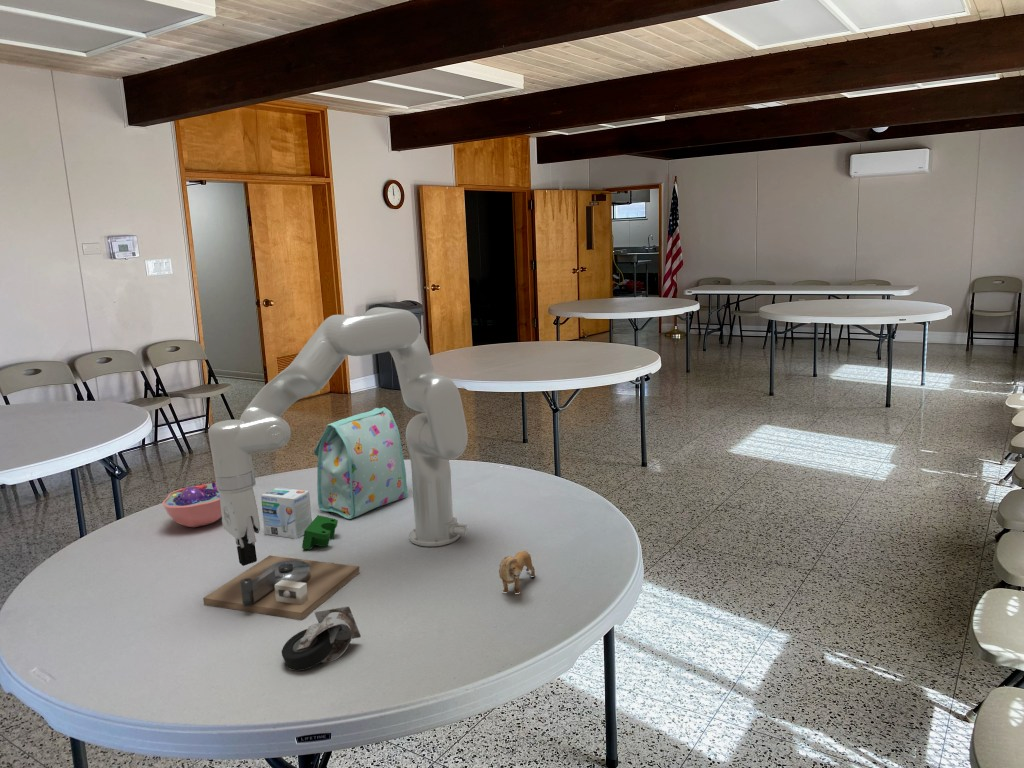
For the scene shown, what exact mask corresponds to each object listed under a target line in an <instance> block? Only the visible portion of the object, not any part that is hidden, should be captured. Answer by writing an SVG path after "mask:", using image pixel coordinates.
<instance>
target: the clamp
mask: <svg viewBox="0 0 1024 768" xmlns="http://www.w3.org/2000/svg"><path fill="white" fill-rule="evenodd" d="M338 522H339V521H338V519H336V518H333V517H332V518H331V517H327V516H324V515H319V514H317V515H316V516H315V517H314V519H313V520H312V523H311V524H310V525H309V526H308V527H307V528H306V530H305V532H304V535H303V538H302V544H301V549H304V550H309V551H311V550H312V549H313V548H314V546H315V545H316V546H319V547H324V548H327V547H329V543H330V540H334V537H335V531H336V528H337V527H338Z"/></svg>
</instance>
